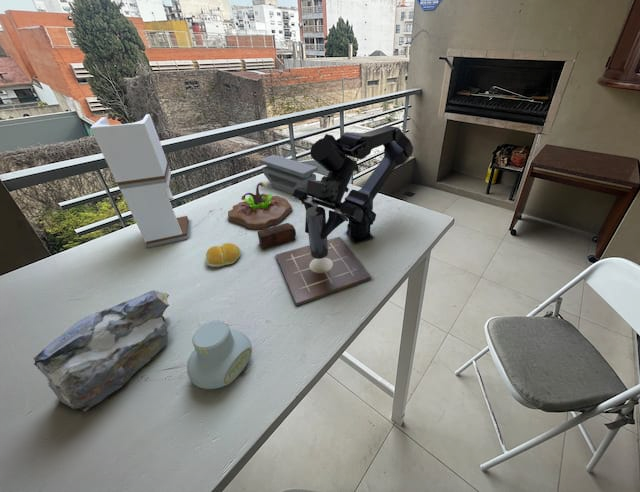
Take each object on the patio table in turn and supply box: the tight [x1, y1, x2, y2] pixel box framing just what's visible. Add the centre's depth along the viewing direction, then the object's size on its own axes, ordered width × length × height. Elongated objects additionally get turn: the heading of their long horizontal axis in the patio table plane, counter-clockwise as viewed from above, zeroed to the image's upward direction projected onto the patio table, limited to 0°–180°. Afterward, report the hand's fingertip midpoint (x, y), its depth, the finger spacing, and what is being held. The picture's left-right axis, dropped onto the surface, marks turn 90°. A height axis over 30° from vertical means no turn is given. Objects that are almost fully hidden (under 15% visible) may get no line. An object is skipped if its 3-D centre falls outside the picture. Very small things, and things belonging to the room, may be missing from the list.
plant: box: [227, 181, 293, 230], centre depth 99 cm, size 20×20×11 cm
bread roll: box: [205, 242, 242, 268], centre depth 80 cm, size 8×9×4 cm
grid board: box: [275, 236, 371, 307], centre depth 78 cm, size 20×20×1 cm
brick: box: [257, 222, 297, 249], centre depth 87 cm, size 11×4×5 cm, turn 123°
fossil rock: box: [33, 289, 170, 413], centre depth 52 cm, size 20×10×15 cm, turn 153°
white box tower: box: [89, 113, 190, 248], centre depth 81 cm, size 11×11×35 cm
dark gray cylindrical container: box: [305, 205, 328, 259], centre depth 71 cm, size 5×5×13 cm
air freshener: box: [186, 319, 253, 390], centre depth 51 cm, size 11×8×10 cm
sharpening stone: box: [258, 154, 319, 195], centre depth 117 cm, size 25×8×11 cm, turn 56°
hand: (314, 235), depth 70 cm, fingers closed on dark gray cylindrical container, 4 cm apart
